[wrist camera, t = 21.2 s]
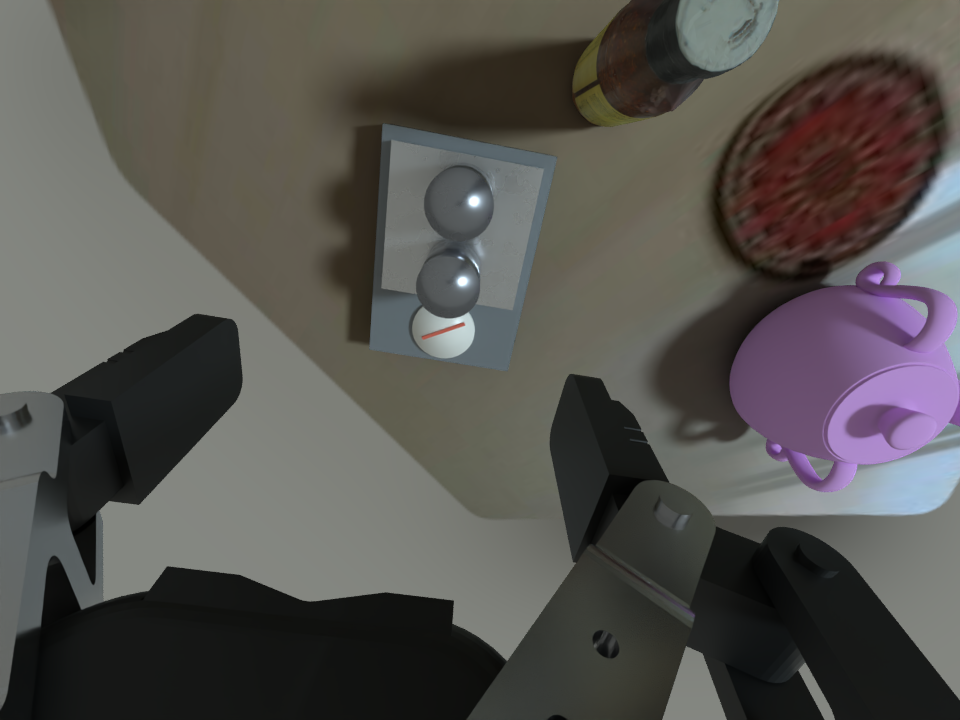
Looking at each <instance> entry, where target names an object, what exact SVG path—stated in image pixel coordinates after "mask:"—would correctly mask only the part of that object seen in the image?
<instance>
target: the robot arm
mask: <svg viewBox="0 0 960 720" xmlns="http://www.w3.org/2000/svg"><path fill="white" fill-rule="evenodd" d="M241 387H242V367H241V357H240V348H239V337H238V328H237V325H236V323H235V322H234V321H233V320H232V319H227V318H221V317H215V316H208V315H202V314H194V315H192V316H191V317H189V318H187V319H186V320H184V321H183V322H181V323H179V324H178V325H176V326H174V327H173V328H171V329H170V330H168V331H165V332H162V333H158V334H155V335H152V336H149V337H146V338H143V339H141V340H139V341H138V342H136V343H134V344H132V345H131V346H129V347H127V348H126V349H124V351H123V352H119V353H118V354H116V355H114V356H112V357H111V358H109V359H108V361H107V362H102V363H101V364H99V365H97V366H96V367H94V368H92V369H90V370H89V371H87V372H85V373H84V374H82V375H80V376H79V377H77V378H75V379H74V380H72V381H70V382H68V383H67V384H65V385H63V386H62V387H60V388H58V389H57V390H55V391H53V392H52V393H45V392H36V391H24V392H13V393H5V394H0V720H662V718H663V715H664V712H665V709H666V706H667V703H668V700H669V696H670V694H671V690H672V687H673V684H674V681H675V678H676V675H677V672H678V669H679V666H680V663H681V659H682V657H683V653H684V650H685V647H686V646H687V647H690V648H692V649H694V650H696V651H699V652H701V653H703V655H704V658H705V661H706V664H707V666H708V669H709V672H710V675H711V677H712V680H713V683H714V685H715V688H716V691H717V694H718V697H719V699H720V702H721V705H722V707H723V710H724V713H725V716H726V718H727V720H824V718H823V716H822V714H821V712H820V710H819V709H818V707H817V705H816V703H815V701H814V699H813V697H812V696H811V694H810V692H809V690H808V688H807V686H806V684H805V683H804V680H803V679H802V677H801V675H800V673H799V671H798V670H799V668H800V667H801V666H802V665H803V664H804V663H805V662H806V664H807V666H808V667H809V669H810V671H811V673H812V675H813V676H814V678H815V680H816V682H817V683H818V685H819V687H820V689H821V691H822V693H823V694H824V696H825V698H826V700H827V702H828V703H829V705H830V707H831V709H832V712H833V714H834V718H835V720H960V700H959V699H958V697H957V696H956V695H955V694H954V692H952V690H951V689H950V688H949V686H948V685H947V684H946V682H945V681H944V680H943V679H942V677H941V676H940V675H939V674H938V672H937V671H936V670H935V669H934V667H933V666H932V665H931V664H930V662H929V661H928V660H927V658H926V657H925V656H924V655H923V653H922V652H921V651H920V650H919V648H918V647H917V646H916V645H915V643H914V642H913V641H912V640H911V638H910V637H909V636H908V634H907V633H906V632H905V631H904V629H903V628H902V627H901V626H900V625H899V623H898V622H897V621H896V619H895V618H894V617H893V616H892V615H891V613H890V612H889V611H888V609H887V608H886V607H885V605H884V604H883V603H882V602H881V600H880V599H879V598H878V597H877V595H876V594H875V593H874V592H873V590H872V589H871V588H870V587H869V586H868V584H867V583H866V582H865V580H864V579H863V578H862V577H861V575H860V574H859V573H858V572H857V570H856V569H855V568H854V567H853V566H852V564H851V563H850V562H848V560H847V559H846V558H844V557H843V556H842V555H841V554H840V553H839V552H837V551H836V550H835V549H833V548H832V547H831V546H829V545H828V544H826V543H825V542H823V541H821V540H820V539H818V538H816V537H814V536H812V535H810V534H808V533H805V532H802V531H800V530H797V529H793V528H787V527H777V528H774V529H772V530H770V531H769V533H768V534H767V536H766V537H765V539H764V540H763V542H762V543H761V544H760V543H757V542H755V541H752V540H749V539H747V538H744V537H741V536H739V535H736V534H734V533H731V532H728V531H726V530H723V529H721V528H718V527H716V525H715V521H714V518H713V516H712V515H711V513H710V511H709V510H708V509H707V507H706V506H705V505H704V504H703V503H702V502H701V501H700V500H699V499H697V498H696V497H695V496H694V495H692V494H691V493H689V492H688V491H686V490H684V489H682V488H680V487H678V486H676V485H674V484H671V483H669V481H668V479H667V477H666V475H665V473H664V471H663V469H662V468H661V466H660V464H659V462H658V460H657V458H656V456H655V454H654V452H653V450H652V449H651V447H650V445H649V444H647V442H648V441H647V439H646V437H645V435H644V433H643V432H641V428H640V426H639V424H638V422H637V420H636V418H635V416H634V415H633V414H632V413H631V412H630V411H629V410H628V409H627V408H626V407H625V406H624V405H623V404H621V403H620V402H619V401H614V400H611V398H610V396H609V394H608V392H607V390H606V388H605V385H604V383H603V381H602V380H601V379H600V378H594V377H588V376H582V375H575V374H570V375H569V376H568V377H567V379H566V382H565V385H564V388H563V391H562V394H561V398H560V401H559V404H558V407H557V411H556V414H555V417H554V420H553V424H552V428H551V433H550V451H551V456H552V461H553V466H554V471H555V476H556V481H557V486H558V491H559V496H560V500H561V505H562V510H563V515H564V520H565V525H566V530H567V535H568V540H569V544H570V550H571V555H572V559H573V562H576V564H575V565H574V567H573V568H572V570H571V571H570V573H569V574H568V575H567V577H566V578H565V580H564V581H563V582H562V584H561V585H560V587H559V588H558V590H557V591H556V593H555V594H554V595H553V597H552V598H551V600H550V601H549V603H548V604H547V605H546V607H545V608H544V610H543V611H542V612H541V614H540V615H539V617H538V618H537V620H536V621H535V623H534V624H533V625H532V627H531V628H530V630H529V631H528V632H527V634H526V635H525V637H524V638H523V640H522V641H521V642H520V644H519V646H518V647H517V648H516V650H515V651H514V653H513V654H512V655H511V657H510V658H509V660H508V661H506V660H505V659H504V658H503V657H502V656H501V655H500V654H499V653H498V652H497V651H496V650H495V649H494V648H492V647H491V646H490V645H488V644H487V643H486V642H484V641H483V640H481V639H480V638H479V637H477V636H476V635H474V634H472V633H470V632H468V631H467V630H465V629H463V628H460V627H458V626H456V625H454V624H452V619H453V605H454V601H452V600H444V599H436V598H428V597H419V596H411V595H402V594H394V593H378V594H371V595H362V596H354V597H346V598H339V599H331V600H322V601H313V602H308V601H302V600H299V599H297V598H294V597H292V596H289V595H287V594H285V593H282V592H280V591H277V590H275V589H273V588H270V587H268V586H265V585H263V584H260V583H258V582H255V581H253V580H251V579H248V578H246V577H243V576H241V575H235V574H227V573H219V572H210V571H202V570H193V569H185V568H176V567H166V569H165V570H164V571H163V573H162V574H161V575H160V577H159V578H158V580H157V581H156V582H155V584H154V585H153V586H152V588H151V589H150V590H149V591H146V592H140V593H135V594H130V595H126V596H121V597H118V598H114V599H111V600H108V601H103V521H102V517H101V514H100V511H99V510H100V509H101V508H102V507H103V506H104V505H105V504H106V503H107V502H108V501H114V502H121V503H129V504H137V505H139V504H140V503H141V502H142V501H143V500H144V499H145V498H146V497H147V495H149V494H150V493H151V491H152V490H153V489H154V488H155V487H156V486H157V485H158V484H159V483H160V482H161V481H162V480H163V479H164V478H165V477H166V476H167V474H168V473H169V472H170V471H171V470H172V469H173V468H174V467H175V466H176V465H177V464H178V463H179V462H180V461H181V459H182V458H183V457H184V456H185V455H186V454H187V453H188V452H189V451H190V450H191V449H192V448H193V447H194V446H195V445H196V444H197V442H198V441H199V440H200V439H201V438H202V437H203V436H204V435H205V434H206V433H207V432H208V431H209V430H210V429H211V427H212V426H213V425H214V424H215V423H216V422H217V421H218V420H219V419H220V418H221V417H222V416H223V415H224V414H225V412H227V410H228V409H229V408H230V407H231V406H232V405H233V404H234V403H235V402H236V400H237V398H238V396H239V394H240V391H241Z"/></svg>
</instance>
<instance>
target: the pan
mask: <svg viewBox="0 0 960 720" xmlns="http://www.w3.org/2000/svg"><path fill="white" fill-rule="evenodd" d="M463 162H464V163H470V164H473V165H475V166H477V167H479V168H480V169H481V170H482V171H483V172H484V173H485V174H486V175H487V177H488V179H489V180H490V183H491V186H492V191H493V200H494V211H493V216H492V219H491V222H490V223H489V225H488V227H487V228H486V229H485V231H484V232H483V233H481V234H480V235H479V236H477V237H476V238H474V239H471V240H468V241H464V242H466V243H468V244H469V245H470V246H471V247H473V248H474V250H475V251H476V252H477V254H478V256H479V259H480V264H481V275H480V294H479V298H478V300H477V303H476V304H478V305H484V306H490V307H496V308H502V309H508V310H513V307H514V302H515V298H516V293H517V289H518V284H519V280H520V275H521V271H522V266H523V262H524V257H525V253H526V248H527V243H528V239H529V234H530V230H531V225H532V221H533V216H534V212H535V207H536V203H537V198H538V194H539V189H540V185H541V180H542V176H543V171H544V169H543V168H538V167H533V166H528V165H523V164H517V163H512V162H507V161H502V160H496V159H491V158H486V157H481V156H476V155H470V154H465V153H460V152H455V151H449V150H444V149H439V148H434V147H429V146H423V145H418V144H413V143H408V142H402V141H397V140H391V154H390V169H389V184H388V198H387V213H386V228H385V242H384V257H383V272H382V286H381V288H383V289H388V290H394V291H400V292H406V293H412V294H417V292H416V281H417V277H418V274H419V272H420V270H421V268H422V266H423V264H424V262H425V260H426V258H427V256H428V254H429V252H430V250H431V249H432V248H433V247H434V246H435V245H436V244H438V243H439V242H441V241H444V240H448V239H446V238H444V237H442V236H440V235H439V234H438V233H437V232H436V231H434V229H433V228H432V227H431V225H430V224H429V222H428V220H427V218H426V215H425V210H424V197H425V193H426V190H427V188H428V186H429V184H430V183H431V181H432V180H433V179H434V178H435V177H436V176H437V175H438V174H439V173H440V172H442V171H443V170H444V169H445V168H447V167H448V166H450V165H452V164H455V163H463Z"/></svg>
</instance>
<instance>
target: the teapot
mask: <svg viewBox="0 0 960 720" xmlns="http://www.w3.org/2000/svg"><path fill="white" fill-rule="evenodd" d="M883 275H884V278H883V280H882V281H881V283H879V282H880V279H881V278H882V276H883ZM900 278H901V272H900V270H899V269H898V267H897V266H895V265H894V264H892V263H889V262H876V263H872V264H870V265H868V266H867V267H865V268H864V269H863V270H862V271H861V272H860V273H859V274H858V276H857V278H856V286H855V285H846V286H833V287H828V288H822V289H818V290H815V291H812V292H808V293H806V294H804V295H801V296H799V297H796V298H794V299H792V300H790V301H789V302H787V303H785V304H783V305H781V306H780V307H778V308H777V309H775V310H774V311H772V312H771V313H770V314H768V315H767V316H766V317H765V318H763V319H762V320H761V321H760V322H759V323H758V324H757V325H756V326H755V327H754V328H753V329H752V331H751V332H750V333H749V334H748V336H747V337H746V338H745V340H744V341H743V343H742V344H741V346H740V348H739V350H738V352H737V354H736V357H735V359H734V362H733V365H732V368H731V373H730V382H729V386H730V394H731V398H732V402H733V405H734V407H735V409H736V411H737V412H738V414H739V415H740V416H741V418H742V419H743V420H744V421H745V422H746V423H747V424H749V425H750V426H751V427H752V428H753V429H754V430H756V431H757V432H758V433H760V434H761V435H763V436H764V437H766V438H767V442H766V451H767V453H768V454H769V455H770V456H771V457H772V458H774V459H775V460H778V461H787V460H788V461H789V463H790V465H791V467H792V468H793V470H794V472H795V473H796V475H797V476H798V477H799V479H800V480H801V481H802V482H803V483H804V484H805V485H806V486H808V487H809V488H811V489H814V490H816V491H821V492H834V491H838V490H840V489H843V488H844V487H846V486H847V485H848V484H849V483H850V482H851V481H852V480H853V478H854V476H855V473H856V470H857V464H877V463H883V462H888V461H892V460H895V459H898V458H901V457H903V456H906V455H908V454H910V453H912V452H914V451H916V450H918V449H919V448H921V447H923V446H924V445H926V444H927V443H928V442H930V441H931V440H932V439H933V438H935V437H936V436H937V435H938V434H939V433H940V432H941V431H942V430H943V429H944V427H945V426H946V425H947V424H948V423H951V424H955V425H958V426H960V380H958V379H957V374H956V371H955V368H954V365H953V362H952V360H951V357H950V355H949V352H948V350H947V348H946V346H945V344H944V342H945V341H946V340H947V339H948V338H949V337H950V335H951V334H952V332H953V330H954V328H955V325H956V322H957V308H956V305H955V303H954V302H953V301H952V299H951V298H950V297H948V296H947V295H945V294H944V293H942V292H939V291H937V290H934V289H930V288H925V287H918V286H905V285H896V284H897V283H898V282H899V280H900ZM900 298H904V299H913V300H918V301H921V302H924V303H925V304H926V305H927V307H928V317H927V319H926V318H925V317H924V316H922V315H921V314H920V313H919V312H918V311H917V310H916V309H914V308H913V307H912V306H910V305H909V304H908V303H906V302H905V301H903V300H901V299H900ZM805 455H809V456H812V457H817V458H821V459H826V460H831V461H834V464H833V467H832V469H831V471H830V473H829V475H828V476H827V477H826V478H825V479H824V480H822V479H821V478H820V477H819V476H818V475H817V474H816V472H815V471H814V469H813V468H812V466H811V465H810V463H809V461H808V459H807V457H806V456H805Z"/></svg>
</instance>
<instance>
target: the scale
mask: <svg viewBox="0 0 960 720" xmlns="http://www.w3.org/2000/svg"><path fill="white" fill-rule="evenodd" d="M391 140H397V141H402V142H408V143H413V144H418V145H423V146H429V147H434V148H439V149H444V150H449V151H455V152H460V153H465V154H470V155H476V156H481V157H486V158H491V159H496V160H502V161H507V162H512V163H517V164H523V165H528V166H533V167H538V168H543V169H544V171H543V176H542V180H541V185H540V189H539V194H538V198H537V203H536V207H535V212H534V216H533V221H532V225H531V230H530V234H529V239H528V243H527V248H526V253H525V257H524V262H523V266H522V271H521V275H520V280H519V284H518V289H517V293H516V298H515V302H514V307H513V310H508V309H502V308H496V307H490V306H484V305H478V304H475V306H474V307H473V308H472V309H471V310H470V311H469V312H468V313H467V314H465V315H463V316H461V317H457V318H452V319H447V318H441V317H438V316H435V315H433V314H431V313H430V312H428V311H427V310H426V309H425V308H424V307H423V306H422V304H421V303H420V301H419V299H418V296H417V294H412V293H406V292H400V291H394V290H388V289H383V288H381V286H382V272H383V257H384V242H385V228H386V213H387V198H388V184H389V169H390V154H391ZM556 160H557V157H556V156H552V155H548V154H542V153H537V152H532V151H527V150H522V149H517V148H511V147H506V146H501V145H496V144H491V143H486V142H480V141H475V140H470V139H465V138H460V137H455V136H449V135H444V134H439V133H434V132H429V131H424V130H419V129H413V128H408V127H403V126H398V125H393V124H385V123H383V127H382V144H381V161H380V178H379V195H378V212H377V229H376V246H375V263H374V280H373V297H372V314H371V331H370V348H369V349H370V350H376V351H382V352H389V353H395V354H401V355H408V356H414V357H420V358H427V359H433V360H439V361H446V362H452V363H458V364H465V365H471V366H478V367H484V368H490V369H497V370H503V371H508V367H509V363H510V359H511V354H512V350H513V346H514V341H515V337H516V333H517V328H518V324H519V320H520V315H521V311H522V307H523V302H524V298H525V294H526V290H527V285H528V281H529V277H530V272H531V268H532V264H533V259H534V255H535V251H536V246H537V242H538V238H539V234H540V229H541V225H542V221H543V216H544V212H545V208H546V203H547V199H548V195H549V190H550V186H551V182H552V178H553V173H554V169H555V165H556Z"/></svg>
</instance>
